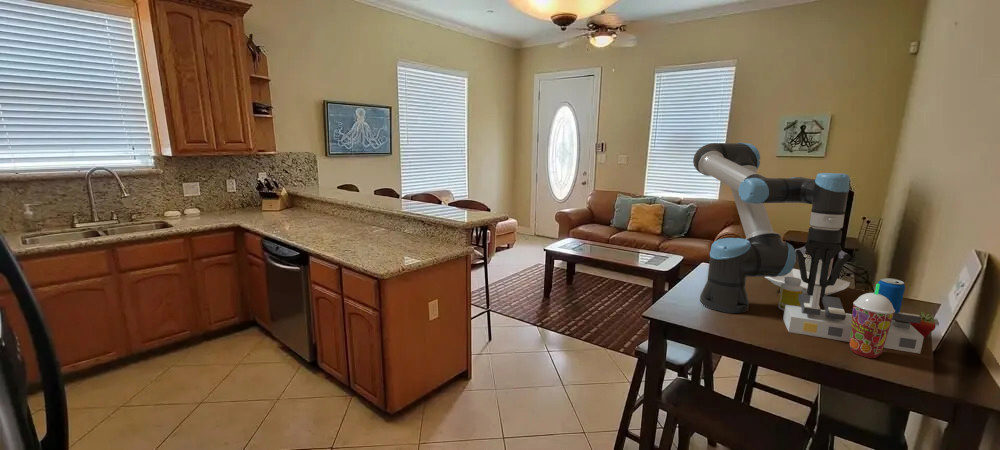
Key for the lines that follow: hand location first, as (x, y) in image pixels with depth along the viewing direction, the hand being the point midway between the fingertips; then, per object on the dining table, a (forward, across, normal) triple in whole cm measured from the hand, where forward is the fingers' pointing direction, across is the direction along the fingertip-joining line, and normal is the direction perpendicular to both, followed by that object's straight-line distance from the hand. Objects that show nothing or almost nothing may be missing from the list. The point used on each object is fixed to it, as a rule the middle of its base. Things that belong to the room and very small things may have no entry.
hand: (813, 306), depth 122 cm
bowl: (+8, +6, +40) cm, 41 cm away
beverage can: (+9, +26, +28) cm, 39 cm away
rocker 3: (+1, +22, +5) cm, 22 cm away
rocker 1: (+1, 0, +5) cm, 5 cm away
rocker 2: (+1, +6, +5) cm, 8 cm away
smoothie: (+10, +11, -6) cm, 16 cm away
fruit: (+9, +29, +12) cm, 33 cm away
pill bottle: (+9, -2, +20) cm, 22 cm away
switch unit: (+9, +10, +5) cm, 14 cm away
